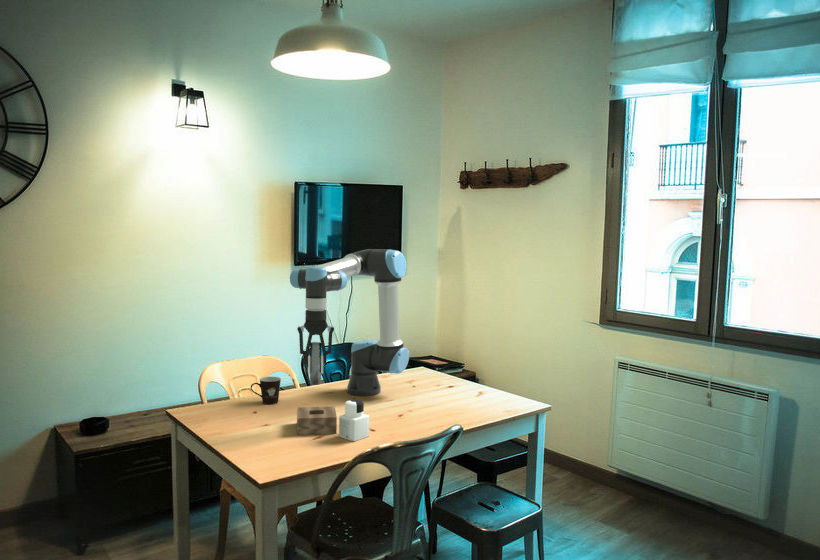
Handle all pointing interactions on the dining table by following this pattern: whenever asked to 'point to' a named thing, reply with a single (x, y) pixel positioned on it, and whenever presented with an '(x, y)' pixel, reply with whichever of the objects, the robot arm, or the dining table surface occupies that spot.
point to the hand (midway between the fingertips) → (315, 372)
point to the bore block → (316, 420)
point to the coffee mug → (269, 389)
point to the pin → (315, 363)
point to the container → (354, 421)
